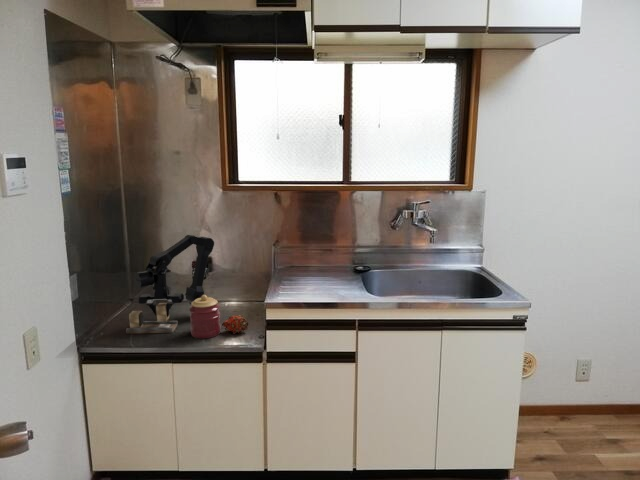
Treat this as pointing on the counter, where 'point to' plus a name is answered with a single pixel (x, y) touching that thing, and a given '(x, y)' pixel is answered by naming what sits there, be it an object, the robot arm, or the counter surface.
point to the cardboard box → (161, 312)
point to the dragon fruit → (236, 324)
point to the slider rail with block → (148, 324)
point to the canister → (205, 317)
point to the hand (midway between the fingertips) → (162, 316)
